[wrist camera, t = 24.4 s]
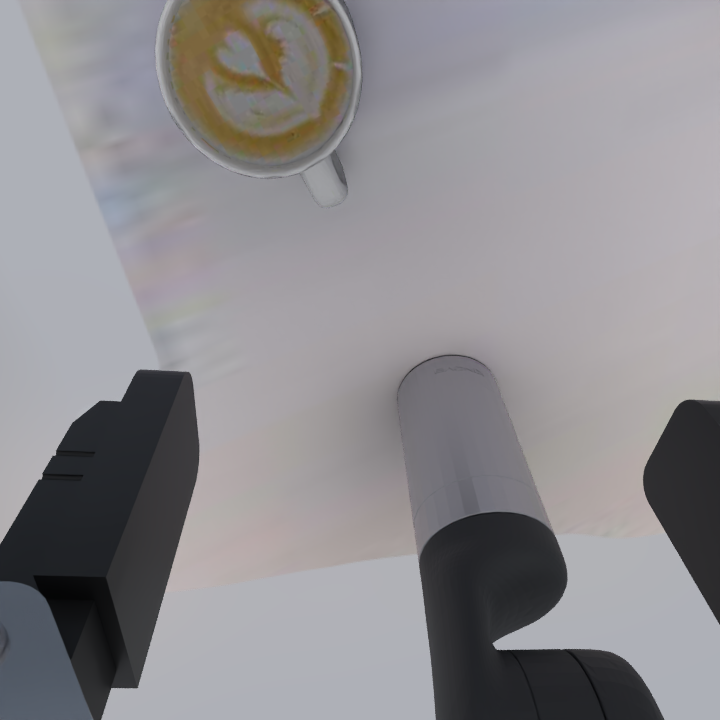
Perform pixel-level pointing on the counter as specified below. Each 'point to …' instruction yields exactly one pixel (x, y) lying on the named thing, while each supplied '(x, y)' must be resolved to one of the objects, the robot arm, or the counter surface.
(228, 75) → the coffee mug
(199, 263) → the counter surface
